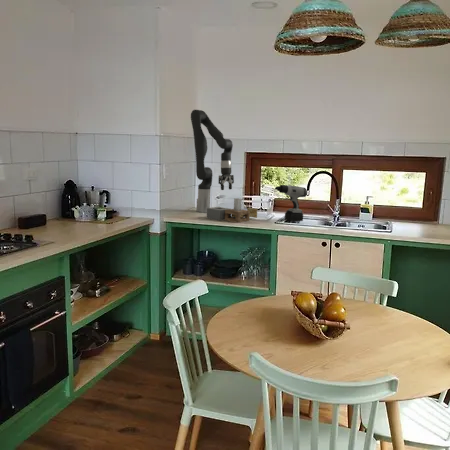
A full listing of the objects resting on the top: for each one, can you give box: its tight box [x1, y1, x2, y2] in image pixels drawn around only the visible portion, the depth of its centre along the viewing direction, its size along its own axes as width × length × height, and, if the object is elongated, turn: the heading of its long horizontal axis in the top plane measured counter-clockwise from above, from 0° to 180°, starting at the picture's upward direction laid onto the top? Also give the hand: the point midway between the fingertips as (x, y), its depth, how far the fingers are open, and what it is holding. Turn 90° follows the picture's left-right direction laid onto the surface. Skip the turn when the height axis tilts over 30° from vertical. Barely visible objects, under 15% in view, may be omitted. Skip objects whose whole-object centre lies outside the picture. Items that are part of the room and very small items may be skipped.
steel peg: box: [233, 197, 243, 218], centre depth 326 cm, size 4×4×15 cm
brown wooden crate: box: [231, 207, 258, 218], centre depth 332 cm, size 19×8×6 cm, turn 139°
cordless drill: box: [274, 184, 308, 222], centre depth 336 cm, size 8×24×25 cm, turn 115°
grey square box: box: [206, 206, 232, 221], centre depth 332 cm, size 12×12×7 cm
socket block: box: [224, 208, 251, 223], centre depth 327 cm, size 12×12×7 cm
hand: (226, 189), depth 348 cm, fingers open, 8 cm apart
